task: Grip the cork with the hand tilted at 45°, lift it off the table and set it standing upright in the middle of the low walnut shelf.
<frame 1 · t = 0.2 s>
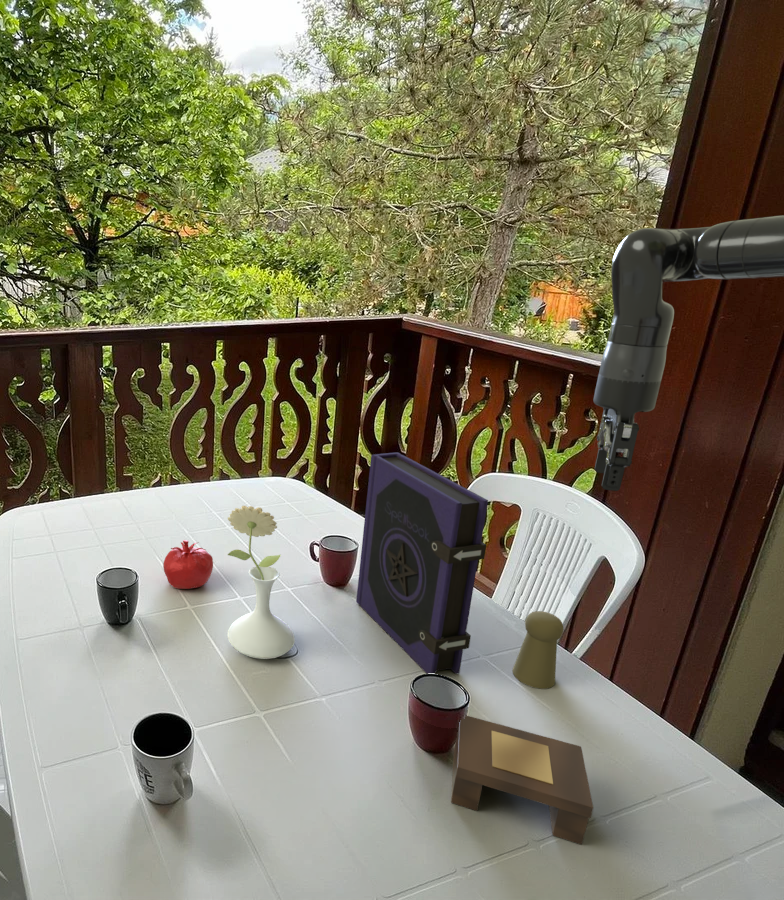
hand: (606, 480, 96), 32 cm above the table, tool pointing down, fingers open, 8 cm apart
pomegranate: (187, 582, 129), on the table
flower in vase: (256, 644, 109), on the table
cork: (533, 677, 101), on the table
book: (404, 636, 112), on the table
shelf: (512, 794, 79), on the table
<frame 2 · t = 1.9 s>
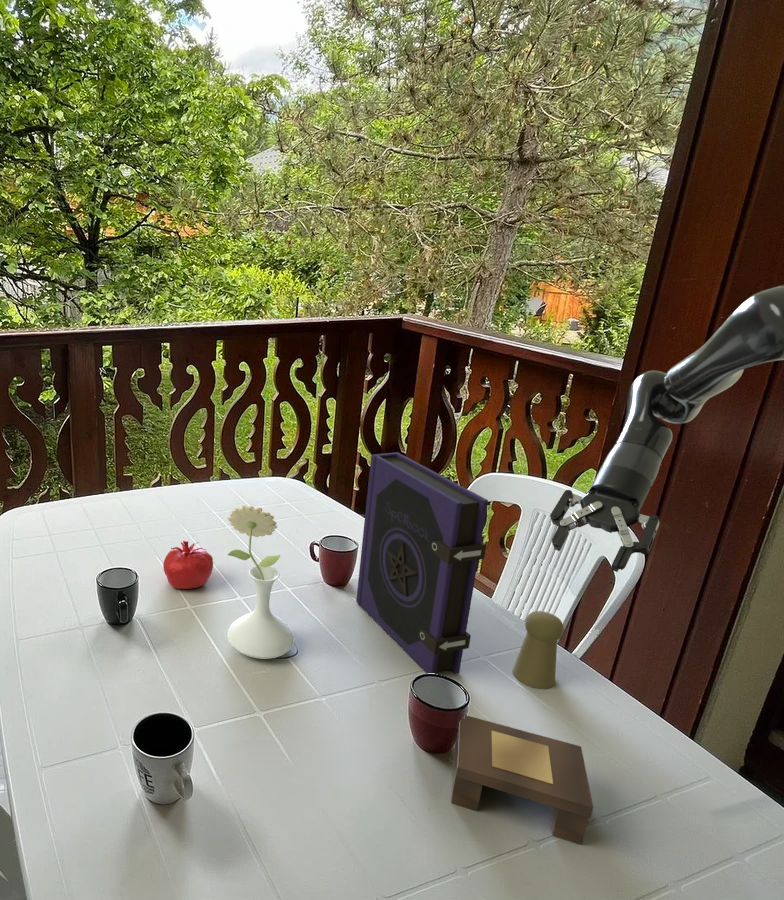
hand: (584, 558, 103), 17 cm above the table, tool tilted 45°, fingers open, 8 cm apart
nothing on the table moved.
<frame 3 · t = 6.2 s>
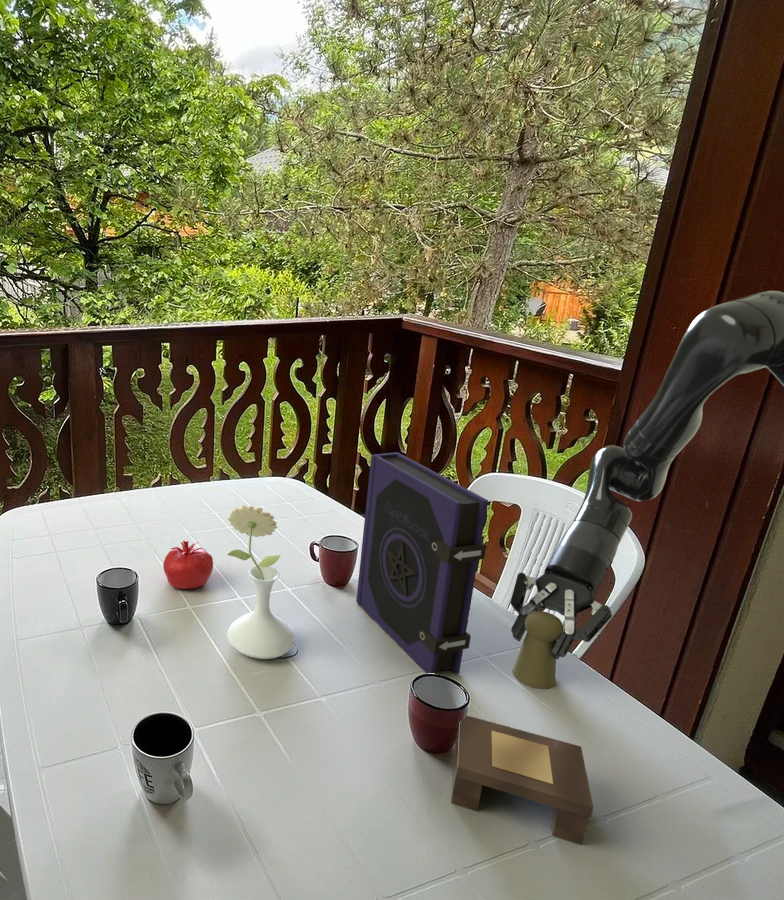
hand: (535, 647, 98), 6 cm above the table, tool tilted 45°, fingers closed on cork, 5 cm apart
cork: (533, 677, 101), on the table, touching gripper
everything else where it was.
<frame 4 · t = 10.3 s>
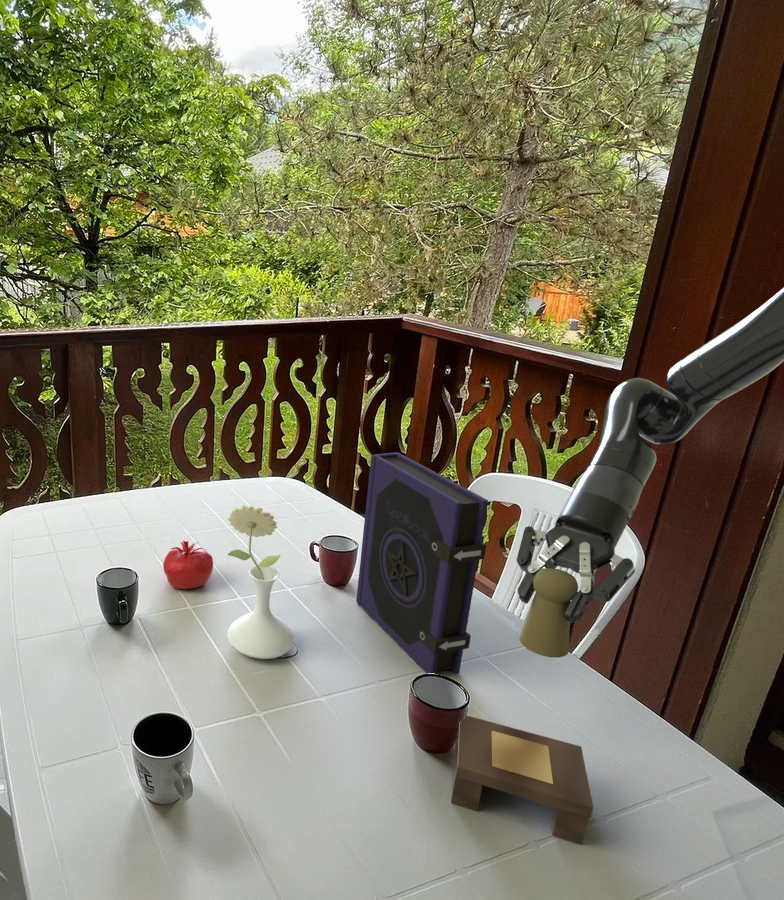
hand: (545, 609, 85), 19 cm above the table, tool tilted 45°, fingers closed on cork, 5 cm apart
cork: (543, 645, 88), point 13 cm above the table, touching gripper
everything else where it was.
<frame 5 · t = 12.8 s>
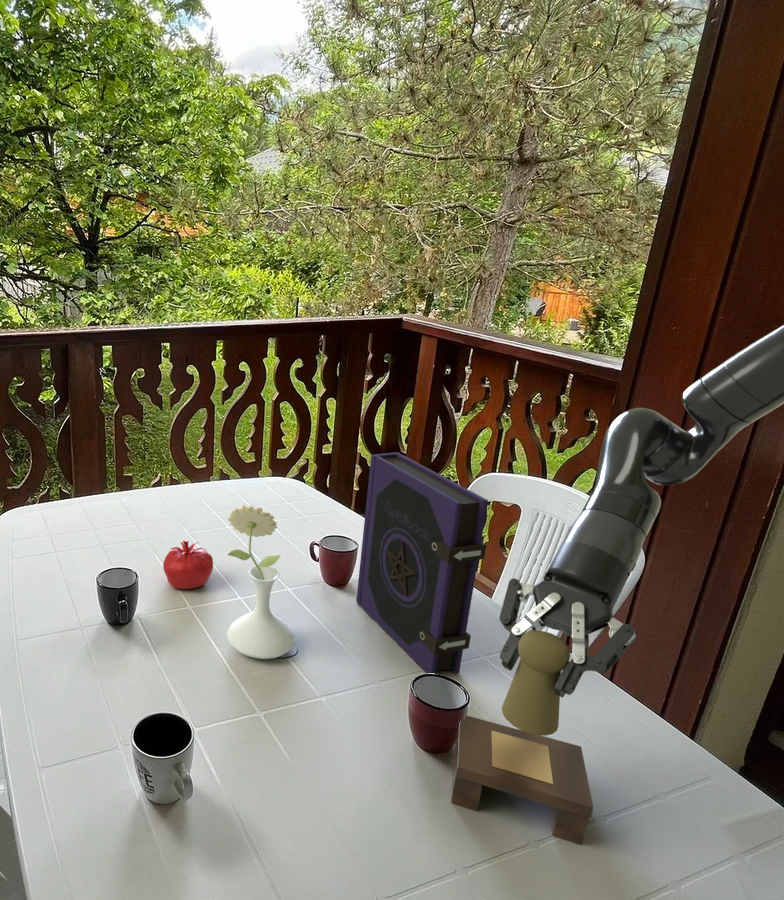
hand: (531, 679, 73), 18 cm above the table, tool tilted 45°, fingers closed on cork, 5 cm apart
cork: (529, 718, 76), point 12 cm above the table, touching gripper
everything else where it was.
when the fingers open (12 cm above the table, at t = 14.8 s): cork stays where it is, resting on shelf.
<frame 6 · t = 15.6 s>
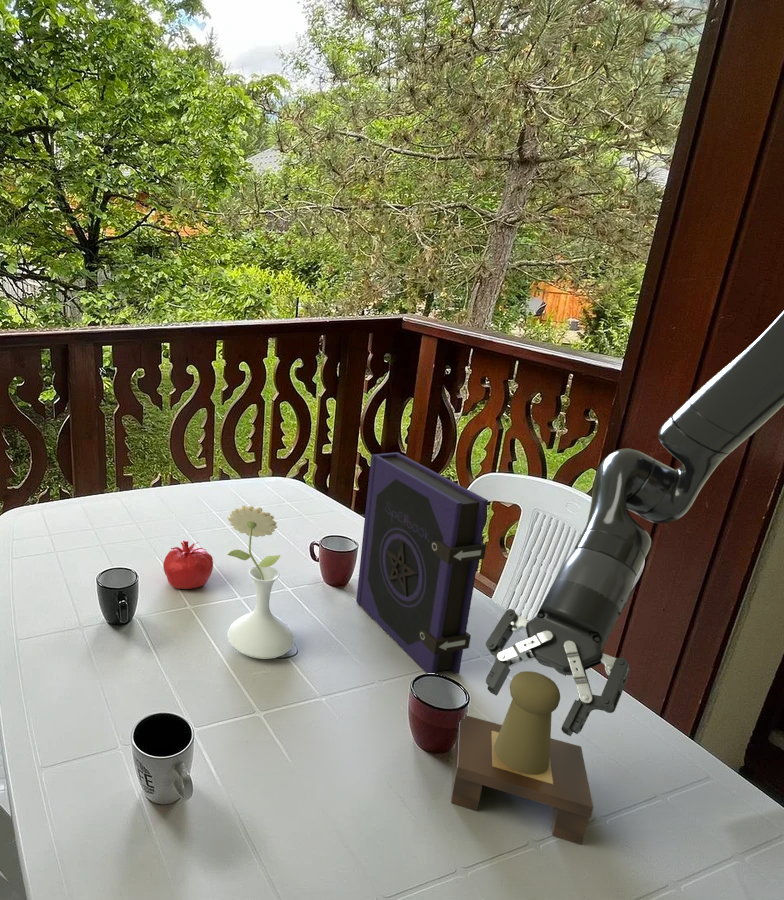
hand: (527, 711, 75), 13 cm above the table, tool tilted 45°, fingers open, 8 cm apart
cork: (520, 756, 78), point 6 cm above the table, touching shelf
everything else where it was.
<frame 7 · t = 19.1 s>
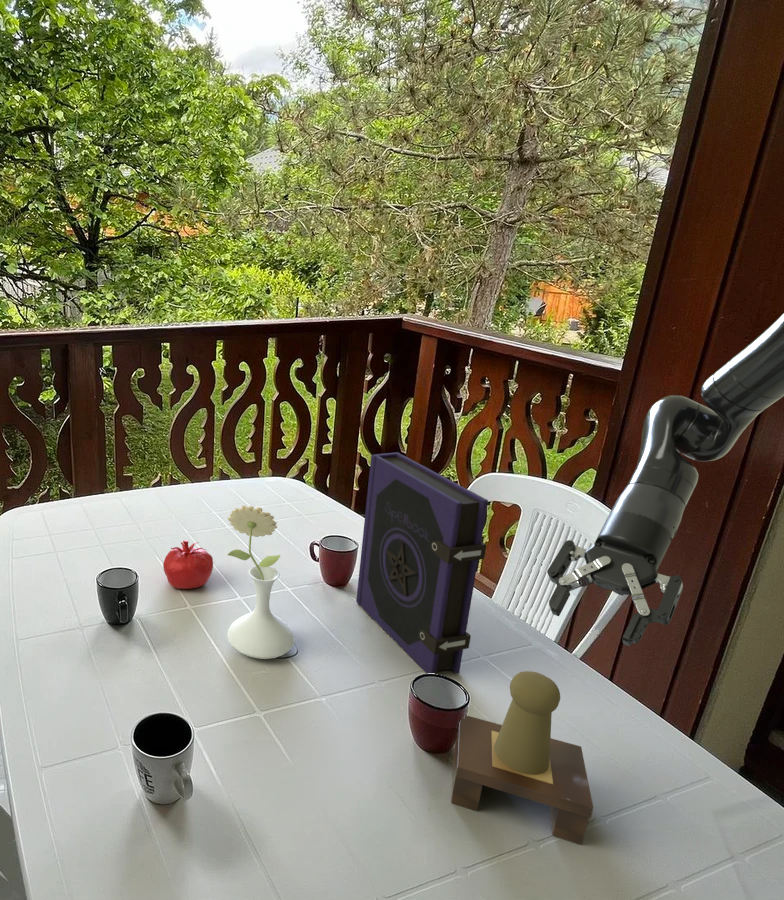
hand: (588, 627, 83), 18 cm above the table, tool tilted 45°, fingers open, 8 cm apart
nothing on the table moved.
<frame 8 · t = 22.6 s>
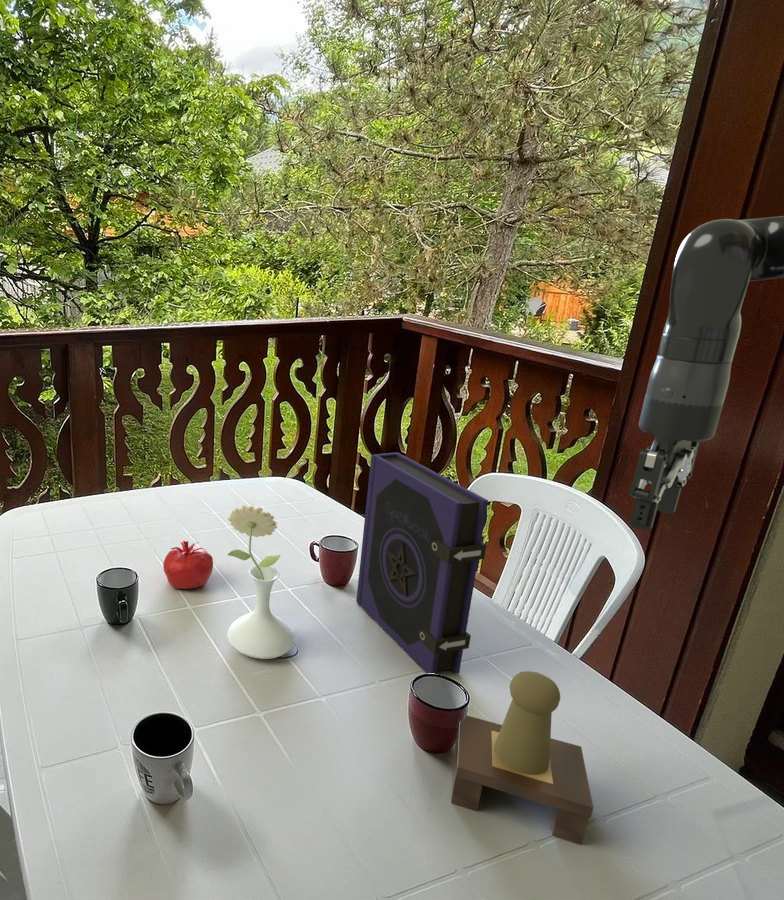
hand: (652, 519, 81), 32 cm above the table, tool pointing down, fingers open, 8 cm apart
nothing on the table moved.
at the end: cork inside the target area on the shelf (0.1 cm from its centre), point 5.9 cm above the shelf's base; cork tilted 0°; the gripper is holding nothing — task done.
